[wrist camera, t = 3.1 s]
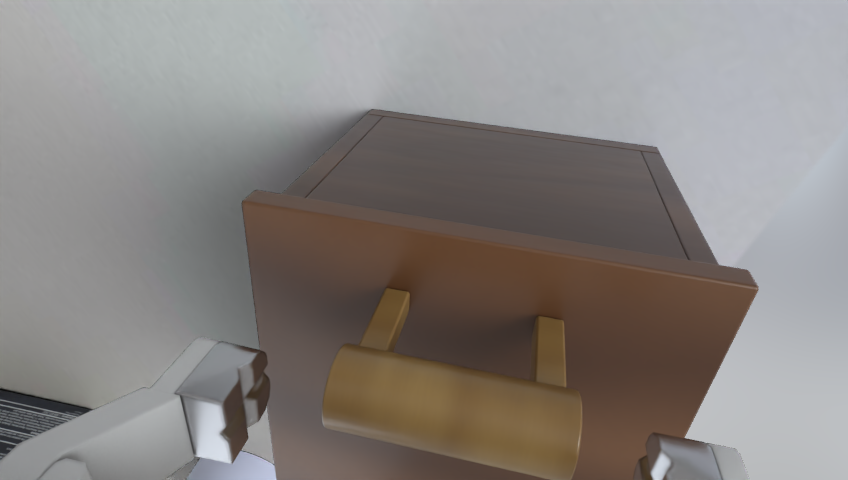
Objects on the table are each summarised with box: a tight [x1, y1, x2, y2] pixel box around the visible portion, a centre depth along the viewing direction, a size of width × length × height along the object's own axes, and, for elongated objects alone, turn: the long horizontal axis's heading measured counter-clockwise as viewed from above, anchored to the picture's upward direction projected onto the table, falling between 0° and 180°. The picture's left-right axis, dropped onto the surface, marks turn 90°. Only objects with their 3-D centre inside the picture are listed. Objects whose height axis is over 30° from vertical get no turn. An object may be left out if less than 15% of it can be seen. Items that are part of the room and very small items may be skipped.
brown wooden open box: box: [282, 109, 719, 265], centre depth 22 cm, size 16×13×11 cm
